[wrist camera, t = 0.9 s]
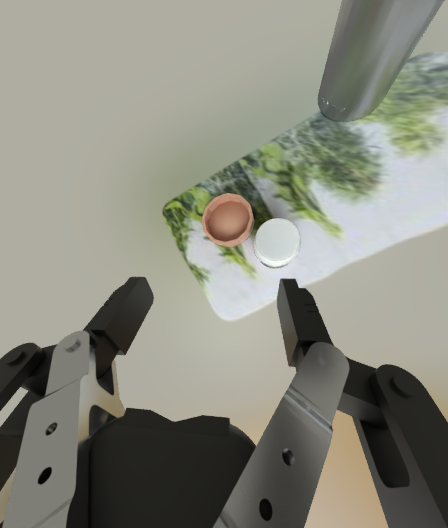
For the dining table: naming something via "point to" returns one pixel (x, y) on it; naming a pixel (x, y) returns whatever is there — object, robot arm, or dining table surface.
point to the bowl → (228, 220)
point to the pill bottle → (277, 242)
